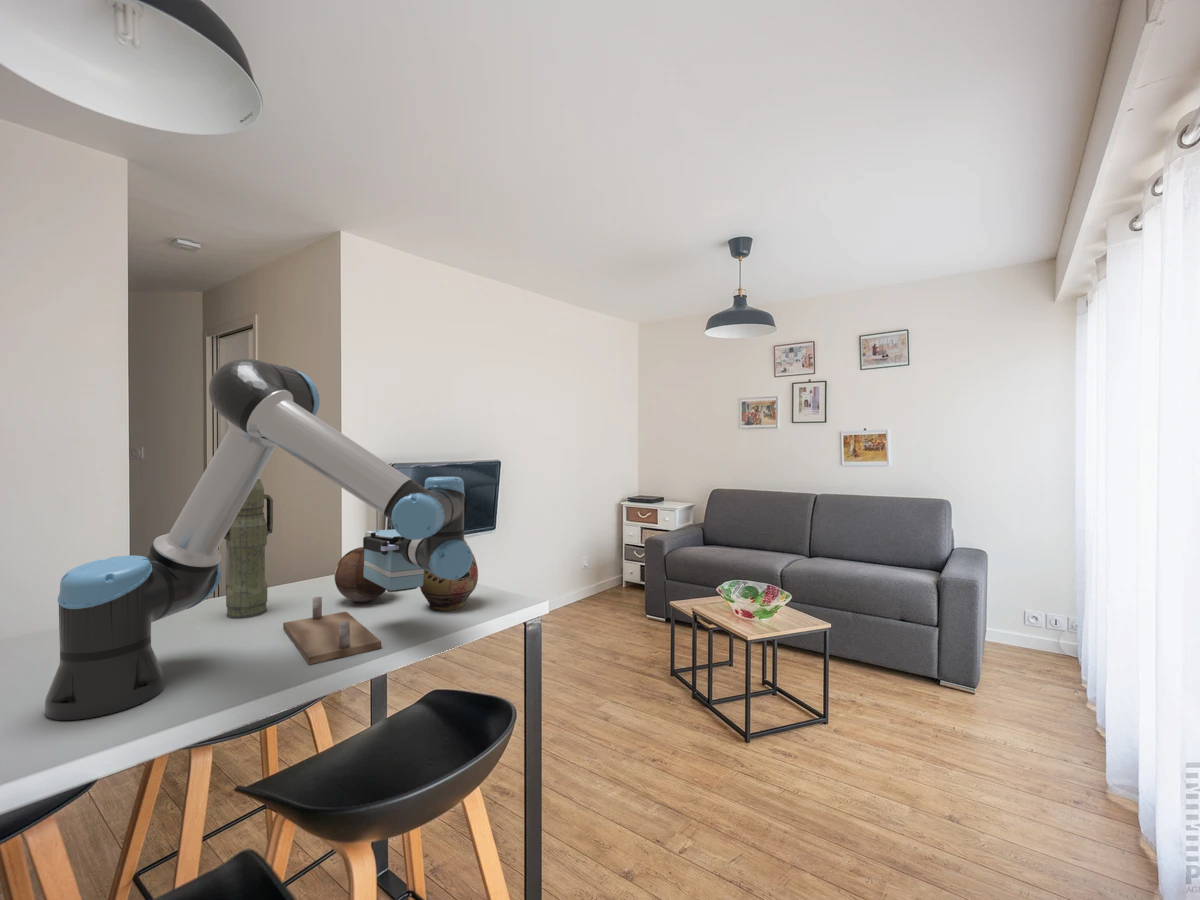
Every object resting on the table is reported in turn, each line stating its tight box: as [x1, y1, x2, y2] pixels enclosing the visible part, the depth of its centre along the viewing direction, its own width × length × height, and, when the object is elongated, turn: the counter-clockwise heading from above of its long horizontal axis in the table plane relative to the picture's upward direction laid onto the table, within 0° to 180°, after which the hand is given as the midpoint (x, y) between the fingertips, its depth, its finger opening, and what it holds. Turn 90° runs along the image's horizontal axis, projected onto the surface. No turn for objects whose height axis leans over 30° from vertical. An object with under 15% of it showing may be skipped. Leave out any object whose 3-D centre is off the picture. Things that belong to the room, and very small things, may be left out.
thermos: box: [223, 478, 274, 620], centre depth 141 cm, size 9×12×35 cm
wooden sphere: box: [334, 546, 387, 603], centre depth 153 cm, size 15×15×15 cm
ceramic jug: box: [419, 496, 479, 612], centre depth 149 cm, size 17×15×30 cm
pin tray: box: [282, 596, 382, 666], centre depth 124 cm, size 14×27×6 cm, turn 39°
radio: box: [363, 510, 424, 593], centre depth 129 cm, size 16×9×20 cm, turn 43°
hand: (388, 534), depth 132 cm, fingers closed on radio, 9 cm apart
